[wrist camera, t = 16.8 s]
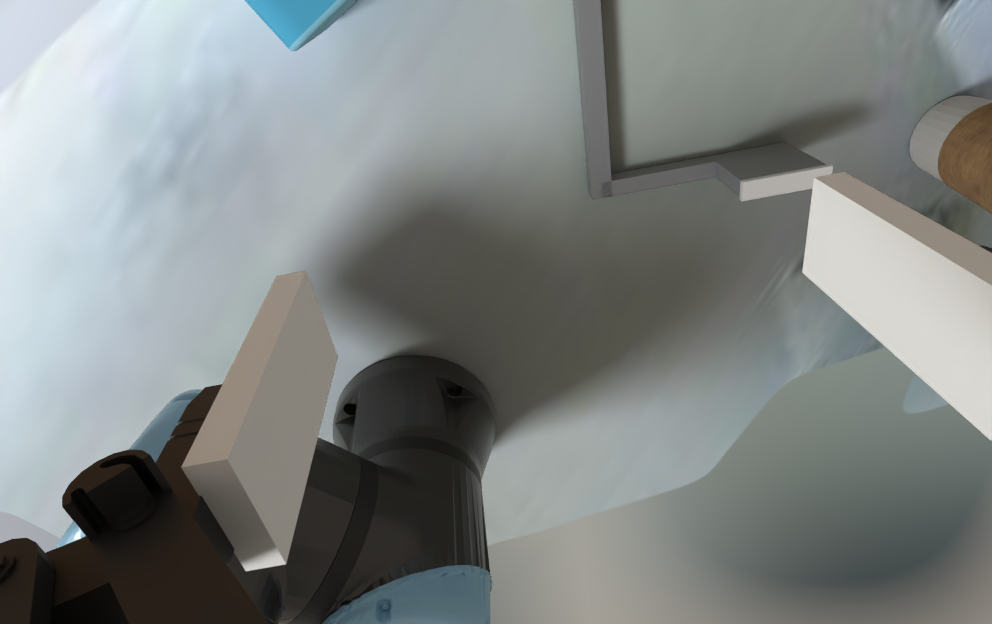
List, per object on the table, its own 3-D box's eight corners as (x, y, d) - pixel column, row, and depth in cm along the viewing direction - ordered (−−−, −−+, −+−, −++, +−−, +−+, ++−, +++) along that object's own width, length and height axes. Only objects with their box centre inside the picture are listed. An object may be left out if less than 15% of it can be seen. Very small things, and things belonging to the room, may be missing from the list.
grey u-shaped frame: (784, 157, 47) (830, 185, 42) (589, 193, 47) (608, 225, 42) (807, -83, 39) (868, -89, 33) (569, -38, 39) (591, -36, 33)
